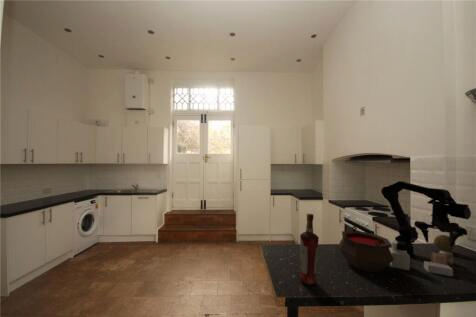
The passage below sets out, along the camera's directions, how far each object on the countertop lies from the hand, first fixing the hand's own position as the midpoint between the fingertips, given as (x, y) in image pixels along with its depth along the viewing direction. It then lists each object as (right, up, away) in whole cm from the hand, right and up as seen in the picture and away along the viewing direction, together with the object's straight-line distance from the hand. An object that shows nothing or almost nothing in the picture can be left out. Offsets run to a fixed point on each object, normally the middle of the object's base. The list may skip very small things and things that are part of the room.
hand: (438, 244), depth 106 cm
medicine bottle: (-22, -10, -2) cm, 24 cm away
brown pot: (-40, -9, -2) cm, 41 cm away
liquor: (-73, -8, -19) cm, 76 cm away
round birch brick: (+8, -11, +5) cm, 15 cm away
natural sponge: (+21, -12, +19) cm, 31 cm away
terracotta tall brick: (0, -11, 0) cm, 11 cm away
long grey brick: (-7, -11, -6) cm, 14 cm away
